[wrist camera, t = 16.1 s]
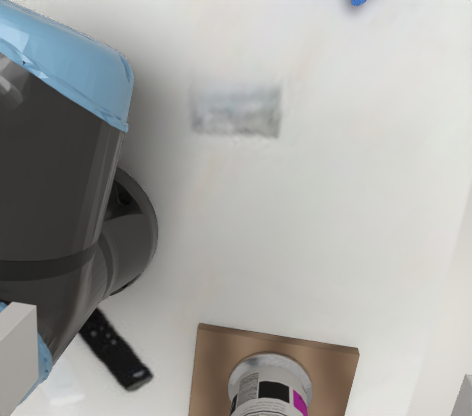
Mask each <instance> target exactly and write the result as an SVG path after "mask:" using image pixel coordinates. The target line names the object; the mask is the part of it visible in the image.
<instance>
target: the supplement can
mask: <svg viewBox="0 0 472 416" xmlns="http://www.w3.org/2000/svg"><path fill="white" fill-rule="evenodd" d="M229 416H308V410H307V398H306V390H305V388H304V386H303V384H302V382H301V381H300V380H299V379H298V378H297V377H296V376H295V375H294V374H292V373H291V372H289V371H287V370H284V369H282V368H280V367H272V366H262V367H257V368H252V369H251V370H249V371H247V372H245V373H244V374H242V375H241V376H240V378H239V379H238V380H237V381H236V383H235V386H234V389H233V393H232V400H231V407H230V414H229Z"/></svg>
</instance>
